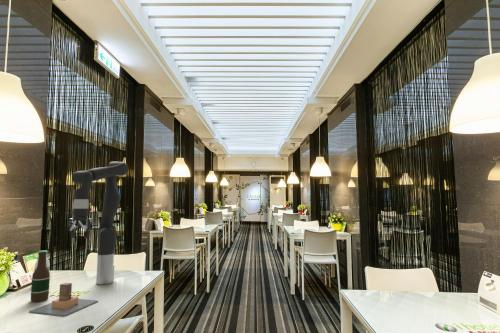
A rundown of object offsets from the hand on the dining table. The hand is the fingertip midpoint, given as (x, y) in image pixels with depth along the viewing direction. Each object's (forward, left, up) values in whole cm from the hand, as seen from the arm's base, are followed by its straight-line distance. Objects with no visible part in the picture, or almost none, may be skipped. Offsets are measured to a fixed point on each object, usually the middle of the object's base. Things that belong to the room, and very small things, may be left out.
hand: (79, 238), depth 167 cm
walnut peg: (+15, +8, -30) cm, 34 cm away
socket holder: (+15, +8, -30) cm, 35 cm away
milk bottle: (-12, -37, -30) cm, 49 cm away
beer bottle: (+10, -13, -30) cm, 34 cm away
